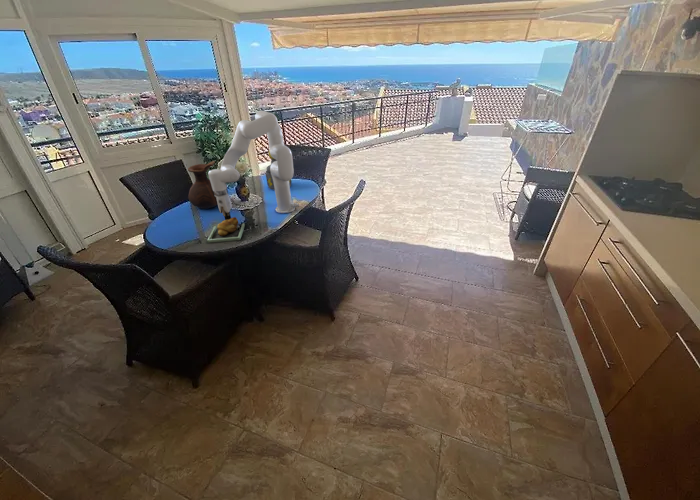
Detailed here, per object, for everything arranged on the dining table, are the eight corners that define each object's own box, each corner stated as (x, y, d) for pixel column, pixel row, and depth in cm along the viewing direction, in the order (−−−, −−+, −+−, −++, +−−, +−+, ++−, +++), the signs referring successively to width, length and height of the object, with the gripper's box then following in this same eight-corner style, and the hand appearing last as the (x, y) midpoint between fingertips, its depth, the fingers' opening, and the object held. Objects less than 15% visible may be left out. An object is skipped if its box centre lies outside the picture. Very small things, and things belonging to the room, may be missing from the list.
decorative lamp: (297, 184, 232) (292, 145, 215) (280, 192, 219) (274, 151, 202) (279, 180, 240) (273, 142, 224) (262, 188, 227) (254, 148, 210)
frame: (245, 225, 176) (244, 223, 175) (240, 239, 162) (239, 237, 161) (215, 227, 174) (214, 225, 173) (207, 242, 160) (206, 240, 159)
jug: (198, 215, 189) (182, 169, 173) (187, 205, 203) (172, 161, 186) (231, 205, 201) (219, 161, 185) (219, 196, 215) (207, 154, 198)
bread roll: (225, 239, 163) (221, 226, 159) (212, 235, 167) (208, 222, 162) (242, 228, 172) (238, 216, 168) (230, 225, 176) (226, 213, 172)
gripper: (224, 196, 158) (232, 226, 168) (230, 186, 171) (237, 215, 181) (210, 197, 157) (219, 227, 167) (217, 187, 170) (225, 216, 180)
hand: (228, 221), depth 174 cm, fingers closed
